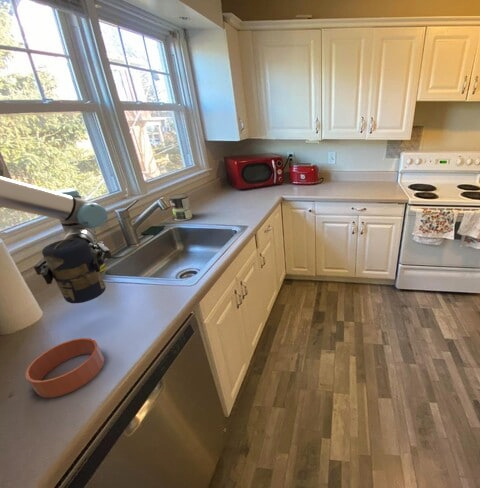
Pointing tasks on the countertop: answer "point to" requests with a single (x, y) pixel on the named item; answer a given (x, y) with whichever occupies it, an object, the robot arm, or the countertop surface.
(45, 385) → the ring
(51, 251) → the canister
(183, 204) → the coffee can
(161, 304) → the countertop surface
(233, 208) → the countertop surface
